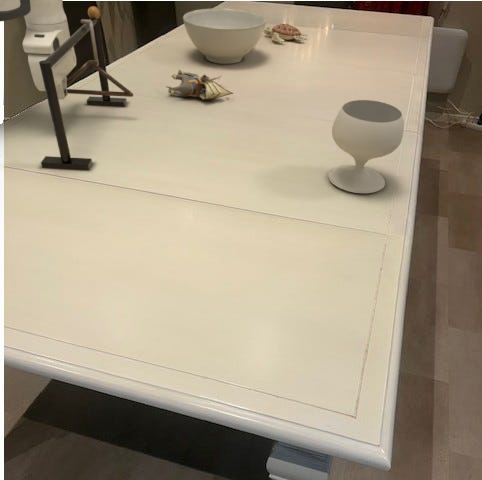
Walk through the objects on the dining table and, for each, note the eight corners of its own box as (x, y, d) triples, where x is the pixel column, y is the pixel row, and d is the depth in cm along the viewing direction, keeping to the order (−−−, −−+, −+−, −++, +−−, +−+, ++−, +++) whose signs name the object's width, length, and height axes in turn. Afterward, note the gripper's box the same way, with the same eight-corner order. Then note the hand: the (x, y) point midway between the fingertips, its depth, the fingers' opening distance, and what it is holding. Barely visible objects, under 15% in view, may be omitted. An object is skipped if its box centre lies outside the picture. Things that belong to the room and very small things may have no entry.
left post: (124, 106, 129) (112, 8, 114) (87, 104, 129) (70, 6, 114) (126, 102, 131) (115, 6, 116) (90, 100, 131) (73, 3, 116)
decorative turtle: (268, 30, 193) (269, 16, 189) (309, 35, 190) (311, 21, 187) (258, 42, 180) (258, 27, 176) (301, 47, 177) (303, 32, 174)
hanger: (133, 97, 120) (124, 22, 108) (56, 93, 120) (40, 17, 108) (133, 96, 120) (125, 21, 109) (57, 92, 120) (41, 16, 109)
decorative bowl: (256, 47, 175) (258, 8, 167) (269, 71, 156) (272, 29, 148) (182, 46, 172) (181, 7, 164) (186, 71, 153) (185, 28, 144)
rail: (88, 170, 103) (69, 65, 89) (42, 167, 103) (14, 62, 89) (125, 104, 130) (114, 17, 116) (88, 102, 130) (73, 14, 116)
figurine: (196, 62, 143) (246, 74, 137) (196, 84, 147) (244, 96, 141) (155, 75, 129) (208, 89, 123) (155, 99, 133) (207, 113, 127)
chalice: (319, 190, 100) (331, 118, 90) (328, 161, 110) (340, 93, 100) (387, 202, 98) (407, 129, 88) (390, 171, 108) (409, 103, 98)
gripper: (50, 22, 116) (62, 82, 126) (19, 46, 101) (35, 112, 111) (76, 23, 116) (86, 83, 126) (48, 48, 101) (63, 114, 111)
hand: (62, 97), depth 118 cm, fingers closed
